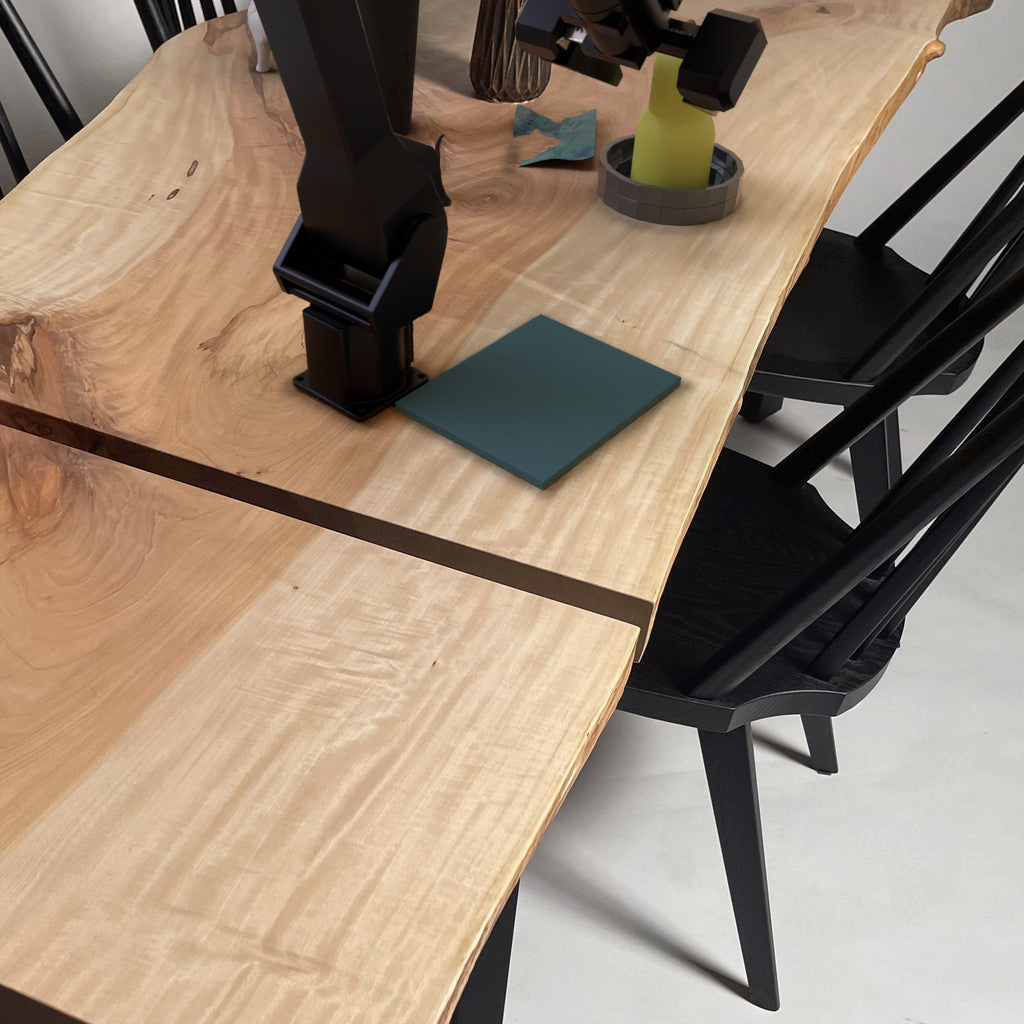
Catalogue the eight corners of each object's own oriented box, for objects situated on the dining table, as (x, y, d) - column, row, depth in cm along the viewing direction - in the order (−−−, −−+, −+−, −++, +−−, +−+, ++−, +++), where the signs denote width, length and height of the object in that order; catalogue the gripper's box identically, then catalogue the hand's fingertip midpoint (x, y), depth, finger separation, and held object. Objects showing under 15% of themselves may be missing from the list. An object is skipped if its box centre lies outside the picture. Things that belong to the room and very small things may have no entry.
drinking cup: (332, 138, 102) (316, -103, 89) (360, 109, 108) (349, -121, 95) (411, 149, 101) (406, -93, 88) (435, 119, 107) (434, -113, 94)
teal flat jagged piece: (593, 176, 98) (594, 155, 97) (506, 173, 98) (506, 153, 97) (595, 122, 108) (596, 103, 106) (516, 120, 108) (516, 101, 107)
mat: (542, 490, 65) (543, 482, 64) (394, 409, 70) (394, 402, 70) (680, 384, 74) (682, 377, 73) (540, 320, 79) (540, 313, 79)
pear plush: (678, 217, 92) (705, 38, 82) (613, 193, 95) (632, 18, 85) (719, 192, 95) (749, 20, 86) (656, 170, 99) (678, 1, 89)
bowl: (688, 246, 89) (694, 205, 87) (567, 199, 95) (571, 160, 92) (762, 199, 96) (770, 160, 94) (647, 158, 102) (651, 121, 100)
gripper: (783, -110, 69) (821, 31, 83) (545, -156, 78) (616, -20, 92) (701, 48, 70) (752, 163, 84) (473, -14, 78) (554, 100, 92)
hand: (666, 95), depth 88 cm, fingers open, 9 cm apart
